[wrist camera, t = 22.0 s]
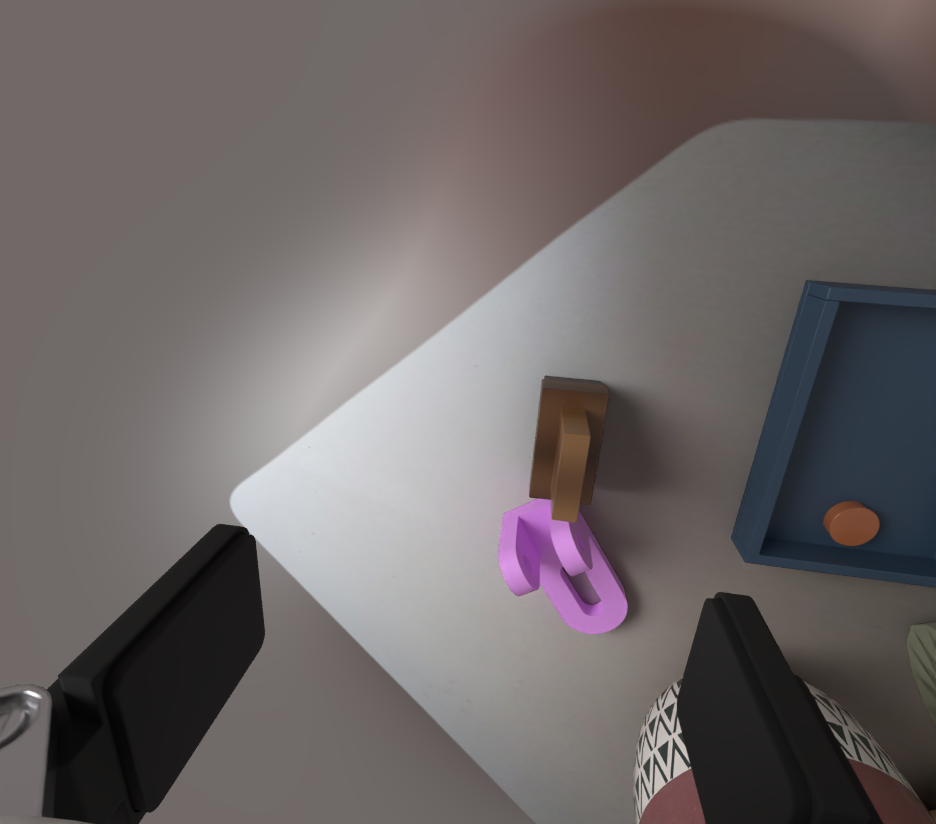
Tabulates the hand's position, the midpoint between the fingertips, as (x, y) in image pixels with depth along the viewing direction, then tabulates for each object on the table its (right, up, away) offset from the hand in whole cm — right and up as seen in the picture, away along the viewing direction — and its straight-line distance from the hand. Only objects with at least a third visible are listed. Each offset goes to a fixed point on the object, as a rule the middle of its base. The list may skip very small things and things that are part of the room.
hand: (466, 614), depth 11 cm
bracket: (+9, -8, +33) cm, 35 cm away
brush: (+7, +3, +28) cm, 29 cm away
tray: (+28, +3, +25) cm, 38 cm away
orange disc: (+28, -4, +27) cm, 39 cm away
